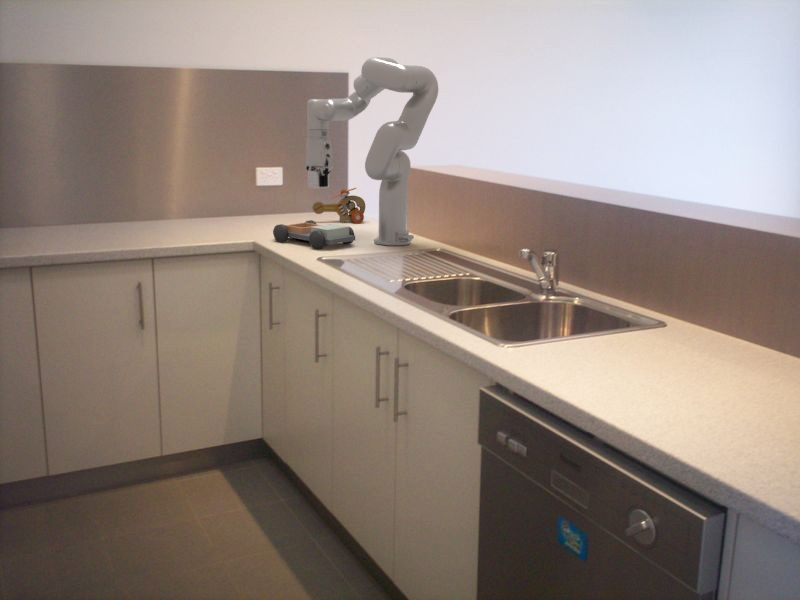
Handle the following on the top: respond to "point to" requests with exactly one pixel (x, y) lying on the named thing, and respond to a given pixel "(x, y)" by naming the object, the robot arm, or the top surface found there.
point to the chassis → (315, 233)
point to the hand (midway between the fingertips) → (318, 185)
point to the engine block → (316, 179)
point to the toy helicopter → (344, 207)
